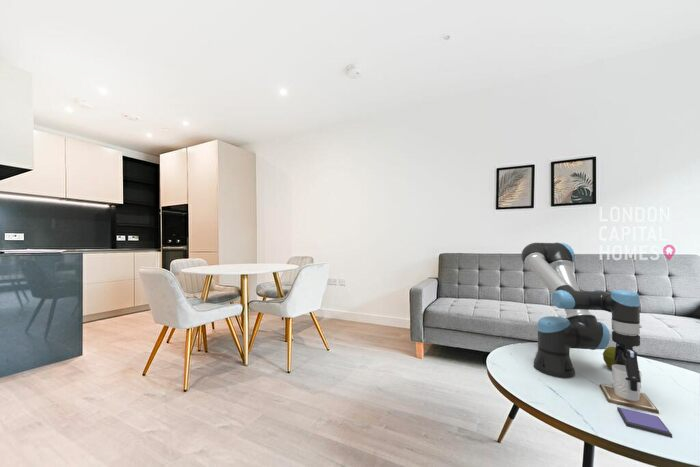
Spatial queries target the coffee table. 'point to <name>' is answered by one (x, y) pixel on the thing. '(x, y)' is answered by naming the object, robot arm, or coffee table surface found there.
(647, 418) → the ink pad
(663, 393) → the coffee table surface
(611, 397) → the brown square coaster
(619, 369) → the white cup
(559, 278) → the robot arm
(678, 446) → the coffee table surface
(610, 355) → the apple
